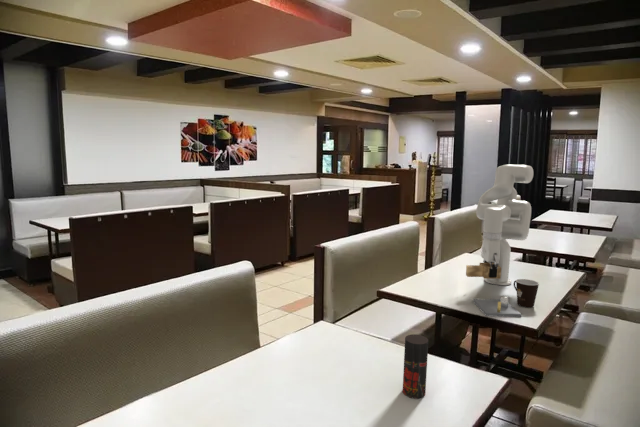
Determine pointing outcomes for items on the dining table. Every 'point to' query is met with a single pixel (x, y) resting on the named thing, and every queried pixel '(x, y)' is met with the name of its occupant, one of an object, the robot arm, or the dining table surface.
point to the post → (504, 301)
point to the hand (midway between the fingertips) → (489, 274)
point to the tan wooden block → (481, 271)
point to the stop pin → (499, 307)
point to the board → (495, 308)
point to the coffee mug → (526, 292)
